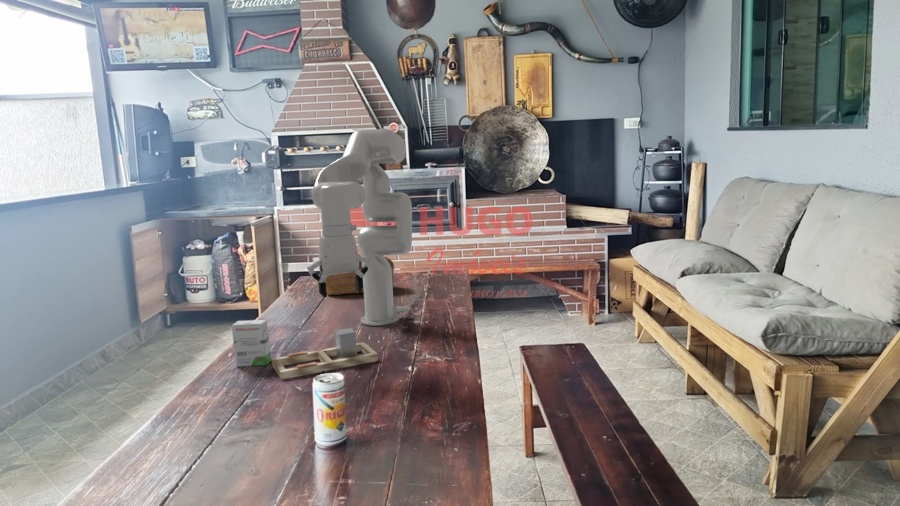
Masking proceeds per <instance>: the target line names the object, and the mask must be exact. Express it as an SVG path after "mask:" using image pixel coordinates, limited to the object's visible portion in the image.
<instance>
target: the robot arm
mask: <svg viewBox="0 0 900 506" xmlns="http://www.w3.org/2000/svg"><path fill="white" fill-rule="evenodd" d="M406 153H407V147H406V143H405V140H404V139H403V137H402V136H400V135H399V133H397V132H395V131H393V130H391V129H389V128H375V129H374V128H372V129H371V128H370V129H359V130H356V131H354V132H353V133H352V134H351V135H350V136H349V139H348V141H347V144H346V146H345V150H344V151H343V153H342V157H340V158H338V159H336V160H335V161H333V162H332V163H330V164H329V165H327V166H324V168H322V170H321V171H320V172H319V173H318V175H317V177H316V179H315V182H314V185H313V188H312V192H311V199H312V203H313V204H314V206H315V207H316V208H317V209H320V211H321V227H322V236H321V237H319V242H318V259H317V260H316V261H314V262H312V263H311V264H310V265H307V266H306V270H307V272H308V273H309V274H310V276H311V277H312V278H313V279H315V280H316V281H317V282H318V292H319V293H318V294H319V295H321V296H322V297H323V298H326V297H327V296H328V293H327V292H326V283H325V282H324V280H325V279H326V277H327V276H328V275H333V274H342V273H349V272H354V273H355V274H356V276H355V286H356V291H358V292H362V289H361V288H364V292H363V300H364V302H363V303H364V315H363V316H361V318H360V322H361V324H363V325H366V326H372V327H373V326H375V327H379V326H380V327H381V326H387V325H392V324H394V323H397V322H398V321H399V320H400V313H408V312H409V307H408V306H407V305H405V306H401V305H399V306H398V305H394V304H395V303H394V290H393V288H394V286H392V269H391V266H390V264H389V262H388V261H387V260H386V258H385V257H386V256H402V255H403V256H404V255H407V254H409V253H410V252H411V250H412V243H413V242H412V240H413V207H412V206H413V205H412V200H411V198H410V195H408V194H407V193H405V192H399V191H398V192H393V191H392V192H390V177H389V175H388V173H386V171H385V170H384V168H383V167H381V166H380V165H381V164H399V163H402V162H403V160H404V159H405V157H406ZM379 164H380V165H379ZM360 178H362V183H359V182H358V181H356V180H358V179H360ZM361 206H362V215H363V218H364V220H366V221H368V222H372V223H390V222H391V223H396V225H369V226H364V227H363V228H361V229H360V230H359V231H358V233H357V238H355V235H354V234H353V231H356V230H357V225H356V224H353V223H352V218H351V210H354V209H356V210H357V209H358V208H360V207H361ZM356 240H357V241H356ZM359 255H360V256H359ZM384 256H385V257H384ZM359 261H361V262H362V268H361V269H360V270H359ZM317 268H319V272H320V273H319V274H317V273H316V271H315V269H317ZM362 278H363V280H362Z"/></svg>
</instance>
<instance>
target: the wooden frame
mask: <svg viewBox="0 0 900 506" xmlns="http://www.w3.org/2000/svg"><path fill="white" fill-rule="evenodd" d="M356 344H357V353H358V352H361V353H362V354H360V355H359V354H358V355H357V356H354V357H348V358H343V359H334V360H332V359H331V357H337V353H336V346H334V347H329V348H324V349H318V350H312V351H307V350H303V351H299V352H298V351H297V352H292V353H288V354H287V355H285V356H279V357H275V358H271V364H272V365H271V366H272V367H273V369H274V370H275V372H276V373H277V375H278V377H279V378H280V380H286V379H287V380H288V379H292V378H293V379H294V378H298V377H302V376H303V377H304V376H308V375H312V374H313V375H314V374H318V373H323V372H322V371H324V372H329V371H334V370H339V369H344V368H349V367H354V366H359V365H363V364H368V363H375V362H378V361H379V354H378V353H377V351H375V350H374V349H373V348H371V347H370V346H369V345H368V344H366V343H365V342H364V341H362V342H356ZM315 360H318V361H320V362H316V361H315ZM309 361H313V362H309ZM305 362H308V363H305ZM300 363H302V364H300ZM293 364H297V365H296V367H291V368H285V366H289V365H293Z"/></svg>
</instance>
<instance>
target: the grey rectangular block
mask: <svg viewBox="0 0 900 506" xmlns="http://www.w3.org/2000/svg"><path fill="white" fill-rule="evenodd" d="M334 339H335V347H336V353H337V356H336V360H338V359H343V358H348V357H354V356H358V352H357V344H356V343H357V334H356V331H355V329H353V328H351V327H348V328H343V329H337V330H334Z"/></svg>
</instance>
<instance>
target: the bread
mask: <svg viewBox="0 0 900 506" xmlns="http://www.w3.org/2000/svg"><path fill="white" fill-rule="evenodd" d="M358 255H359V256H360V254H358ZM383 256H384V257H385V258H386V260H387V261H388V262H389V264H390V266H391V269H392V286H393V287H394V276H395V275H394V273H395V272H394V270H395V265H394V262H393V260H391V259H390V258H389V257H387V256H386V255H383ZM361 268H362V262H361V261H359V270H360V269H361ZM355 276H356V274H355V273H354V272H349V273H342V274H333V275H328V276H327V277H326V279H325V280H324V282H325V283H326V292H327V295H330V296H331V295H333V296H338V295H346V294H361V293H362V294H364V288H361V289H362V292H358V291H356V286H355ZM362 280H363V278H362Z"/></svg>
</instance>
